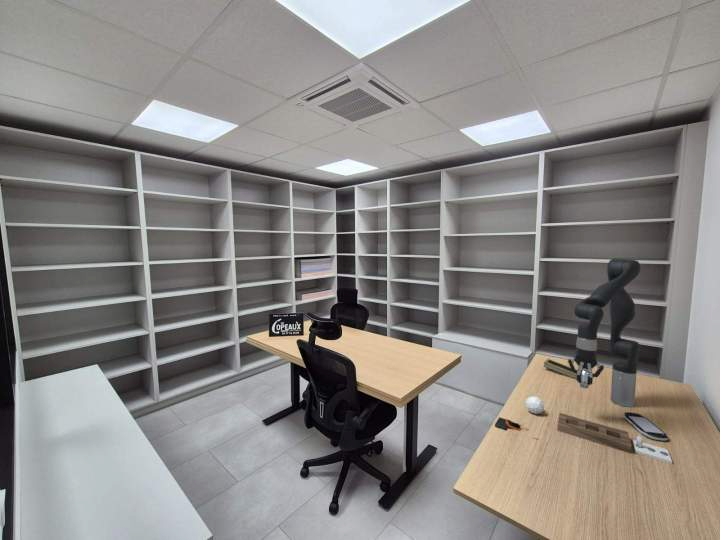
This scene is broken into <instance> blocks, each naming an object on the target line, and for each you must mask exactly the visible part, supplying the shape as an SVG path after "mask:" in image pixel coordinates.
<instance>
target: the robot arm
mask: <svg viewBox="0 0 720 540" xmlns="http://www.w3.org/2000/svg"><path fill="white" fill-rule="evenodd" d="M606 270H607V278H608V280H607V282H605V283H602V284H601V285H599V286H598V287H597V288H596V289H595V290H594V291H593V292H592V293H591V295H590V296H588V297H586V298H584V299H583V300H581V301H579V302H578V303H577V304H576V305H575V307H574V309H573V312H574V316H575V317H577V318H578V319H582V320H583V319H584V320H587V321H589V322H588V323H581V324H580V323H579V325H578V327H577V338H576V344H575V345H576V346H575V356H574V358H572V359H571V358H568V359H567V362H568V364H569V367H571V370H572V372H573V373H576V374H577V379H576V381H577V382H578V383H579V384H580V378H581V375H580V373H581V370H582V369H587V370H588V371H589V383H588V385H589V386H591V385H593V378H598V377H599V376H600V375H601V373H602V372H603V370H604V369H605V367H604V365H603V364H600V363H599V362H598V361H597V351H598V350H597V349H598V341H597V339H598V330H599V327H600V325H601V322H602V321H603V318H604V315H605V314H604V309H603V308H604V307H606V306H607V305H608V304H609V313H610V314H609V315H610V338H609V339H610V340H609V350H610V353H611V354H612V355H614V356H616V357H617V356H618V357H622V358H624V359H625V358H626V359H627V360H625V361H620V360H619V361H613V363H612V371H611V387H610V401H611V402H612V403H614V404H616V405H618V406H622V407H627V408H628V407H629V408H633V407H634V406H635V400H636V398H635V397H636V389H637V387H636V385H637V384H636V383H637V371H638V365H639V357H640V351H641V348H640V343H639V342H638V341H635V340H633V339H632V340H631V339H627V338H623V337H621V334H622V331H624V329H625V328H626V327H627V326H628V325H630V323H631V322H632V321H633V320H634V318H635V316H636V315H635V314H636V310H635V309H636V307H635V306H636V305H635V302H634V300H633V298H632V297H631V296H630V294H629V293H628V292H627V290H625V287H626V286H627V285H629V284H630V283H631V282H632V281H634V280H635V279H636V278H637V277H638V276H639V274H640V272H641V264H640V262H639V261H638V260H636V259H629V258H628V259H627V258H612V259H610V260H609V261H608V264H607V268H606ZM574 363H575V364H576V365H577V366H578V367H577V369H576V367H575V366H574ZM596 366H597V367H596ZM595 367H596V368H597V369H596V371H595V373H593V369H594V368H595ZM575 369H576V370H575Z"/></svg>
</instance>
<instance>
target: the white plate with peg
mask: <svg viewBox="0 0 720 540" xmlns="http://www.w3.org/2000/svg"><path fill="white" fill-rule="evenodd" d="M632 444H633V447H634V452H635V454H639V455H641V456H644V457H648V458H651V459H654V460H657V461H660V462H664V463H668V464H671V465H672V464H673V460H672V457H671V455H670V452H669V451H668V449H667V448H663V447H659V446H656V445H652V444H649V443H646V442H644V436H643V435H636V439H632Z"/></svg>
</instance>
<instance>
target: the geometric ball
mask: <svg viewBox="0 0 720 540" xmlns="http://www.w3.org/2000/svg"><path fill="white" fill-rule="evenodd" d="M525 406H526V409H527V410H528V411H529V412H531V413H533V414H534V415H537V414H541V413H542V412H543V411H544V410H545V405H544V401H543V400H542V399H540V398H539V397H537V396H535V395H534V396H530V397H528V398H527V399H526V400H525Z"/></svg>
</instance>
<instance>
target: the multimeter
mask: <svg viewBox="0 0 720 540" xmlns="http://www.w3.org/2000/svg"><path fill="white" fill-rule="evenodd" d="M498 418H499V419H498ZM498 418H497V420H496V422H495V424H494V427H495V428H497V429H500V430H503V431H507V430H508V427H509V429H510V428H511V429H513V430H516V431H520V430H521V429H523V430H525V431H526V430H528V428H526V427H525V426H522V425H521V424H519V423H518V422H514V421H512V420H509V419H506V418H504V417H500V416H499V417H498ZM531 438H533V439H534V440H538V438H535V437H532V436H531Z"/></svg>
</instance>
